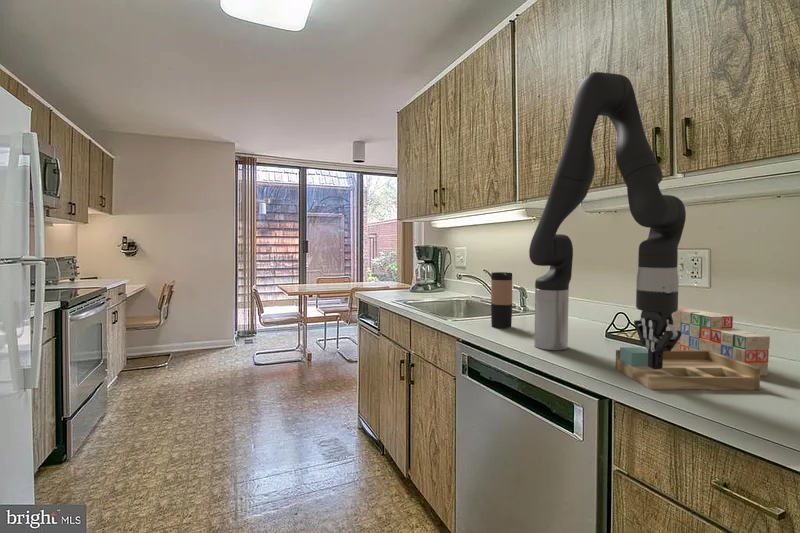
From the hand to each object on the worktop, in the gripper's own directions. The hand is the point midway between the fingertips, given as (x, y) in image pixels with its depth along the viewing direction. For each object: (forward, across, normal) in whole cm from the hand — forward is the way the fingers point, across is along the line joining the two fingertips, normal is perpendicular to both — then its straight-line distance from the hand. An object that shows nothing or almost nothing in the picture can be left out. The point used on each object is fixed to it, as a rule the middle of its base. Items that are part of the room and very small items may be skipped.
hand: (655, 368), depth 84 cm
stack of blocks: (+4, -16, +25) cm, 30 cm away
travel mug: (+3, -60, -19) cm, 63 cm away
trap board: (+3, -3, +8) cm, 9 cm away
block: (+1, -7, 0) cm, 7 cm away
